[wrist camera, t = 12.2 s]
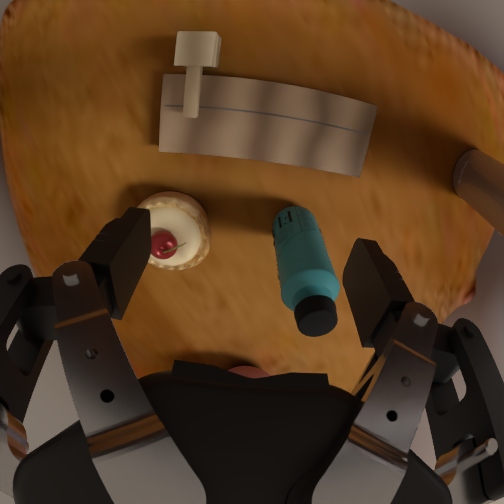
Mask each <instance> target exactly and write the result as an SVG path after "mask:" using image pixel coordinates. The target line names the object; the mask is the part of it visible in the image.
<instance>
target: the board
mask: <svg viewBox="0 0 504 504" xmlns="http://www.w3.org/2000/svg"><path fill="white" fill-rule="evenodd" d="M185 80H186V74H163V83H162V96H161V112H160V133H159V152H176V153H190V154H203V155H214V156H225V157H234V158H243V159H251V160H259V161H267V162H274V163H281V164H288V165H294V166H300V167H306V168H312V169H318V170H324V171H329V172H334V173H340V174H345V175H350V176H354V177H359V178H360V174H361V171H362V167H363V163H364V160H365V156H366V152H367V149H368V145H369V141H370V137H371V133H372V129H373V125H374V120H375V116H376V112H377V107H378V106H376V105H373V104H369V103H366V102H363V101H359V100H356V99H352V98H348V97H344V96H340V95H336V94H332V93H328V92H324V91H319V90H315V89H310V88H305V87H300V86H295V85H289V84H283V83H277V82H270V81H263V80H256V79H247V78H238V77H227V76H214V75H202V80H201V90H200V101H199V113H198V117H196V118H188V117H183V105H184V92H185Z"/></svg>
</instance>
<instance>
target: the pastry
mask: <svg viewBox="0 0 504 504" xmlns="http://www.w3.org/2000/svg"><path fill="white" fill-rule="evenodd" d="M137 208H146V209H149V210H150V215H151V239H152V249H151V255H150V258H149V261H148V263H149V264H151V265H154V266H156V267H159V268H163V269H167V270H183V269H187V268H190V267H193V266H196V265H198V264H199V263H201V262H202V261H203V259H204V258H205V257H206V256H207V254H208V252H209V249H210V243H211V232H210V225H209V222H208V218H207V215H206V213H205V211H204V209H203V208H202V206H201V205H200V204H199V203H198V202H197V201H196V200H195V199H194V198H192V197H191V196H188V195H186V194H184V193H181V192H175V191H167V192H160V193H156V194H154V195H152V196H150V197H148V198H147V199H145V200H144V201H142V203H141V204H140V205H139V206H138V207H137Z"/></svg>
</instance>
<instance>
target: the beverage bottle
mask: <svg viewBox="0 0 504 504" xmlns="http://www.w3.org/2000/svg"><path fill="white" fill-rule="evenodd" d="M274 219H275V220H273V221H274V222H273V230H272V233H273V234H272V235H273V237H274V240H273V241H274V245H275V250H276V256H277V264H278V265H277V266H278V268H277V270H278V272H279V275H278V273H277V275H278V276H279V278H278V279H279V281H280V285H281V286H280V287H281V298H282V301H283V302H284V304H285V305H286V306H287V307H288V308H289V309H291V310H292V311H294V316H295V320H296V323H297V327H298V329H299V331H300V332H301V333H302V334H304V335H306V336H311V337H317V336H322V335H325V334H327V333H329V332H330V331H332V330H333V329H334V328H335V326H336V324H337V320H338V318H337V313H336V305H335V303H334V301H335V299H336V298H337V296H338V293H339V289H340V285H339V281H338V279H337V277H336V275H335V272H334V269H333V267H332V264H331V261H330V258H329V256H328V253H327V250H326V248H327V247H326V248H325V243H324V241H323V239H324V237H323V238H322V236H321V233H320V232H321V230H320V229H319V228H318V225H319V224H318V225H317V222H316V220H315V218H314V216H313V214H312V213H311V212H310V211H309V210H307V209H305V208H303V207H299V206H291V207H287V208H285V209H283V210H281V211H280V212H279V213H278V214H277V215H276V217H275V218H274Z"/></svg>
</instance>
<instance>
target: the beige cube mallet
mask: <svg viewBox="0 0 504 504" xmlns="http://www.w3.org/2000/svg"><path fill="white" fill-rule="evenodd" d="M220 47H221V37H220V36H219V35H218V34H217V33H216V32H207V31H178V33H177V41H176V50H175V59H174V66H185V67H187V70H186V80H185V92H184V105H183V117H188V118H196V117H198V113H199V101H200V90H201V80H202V71H203V67H213V68H218V63H219V54H220Z"/></svg>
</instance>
